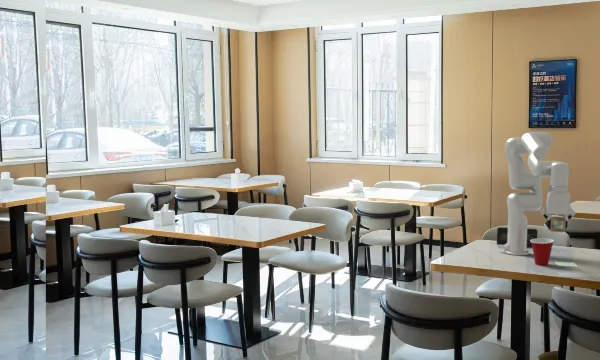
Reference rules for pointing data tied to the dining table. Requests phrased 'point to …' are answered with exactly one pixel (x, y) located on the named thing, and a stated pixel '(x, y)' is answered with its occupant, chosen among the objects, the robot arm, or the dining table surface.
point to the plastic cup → (542, 250)
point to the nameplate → (503, 236)
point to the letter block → (557, 224)
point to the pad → (566, 264)
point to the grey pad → (570, 275)
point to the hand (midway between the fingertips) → (556, 228)
